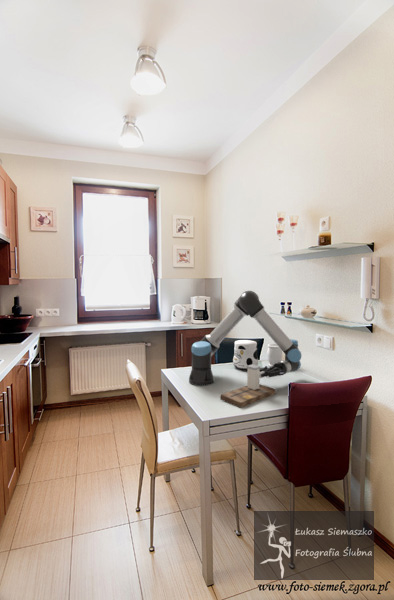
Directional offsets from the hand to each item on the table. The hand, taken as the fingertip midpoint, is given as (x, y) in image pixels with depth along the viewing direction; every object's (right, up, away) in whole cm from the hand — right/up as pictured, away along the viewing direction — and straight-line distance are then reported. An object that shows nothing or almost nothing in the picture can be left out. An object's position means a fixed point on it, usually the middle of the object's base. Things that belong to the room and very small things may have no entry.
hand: (256, 376), depth 174 cm
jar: (+23, -5, +52) cm, 57 cm away
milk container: (+1, -6, +48) cm, 48 cm away
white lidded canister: (-2, -6, -1) cm, 6 cm away
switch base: (-5, -9, -6) cm, 12 cm away
